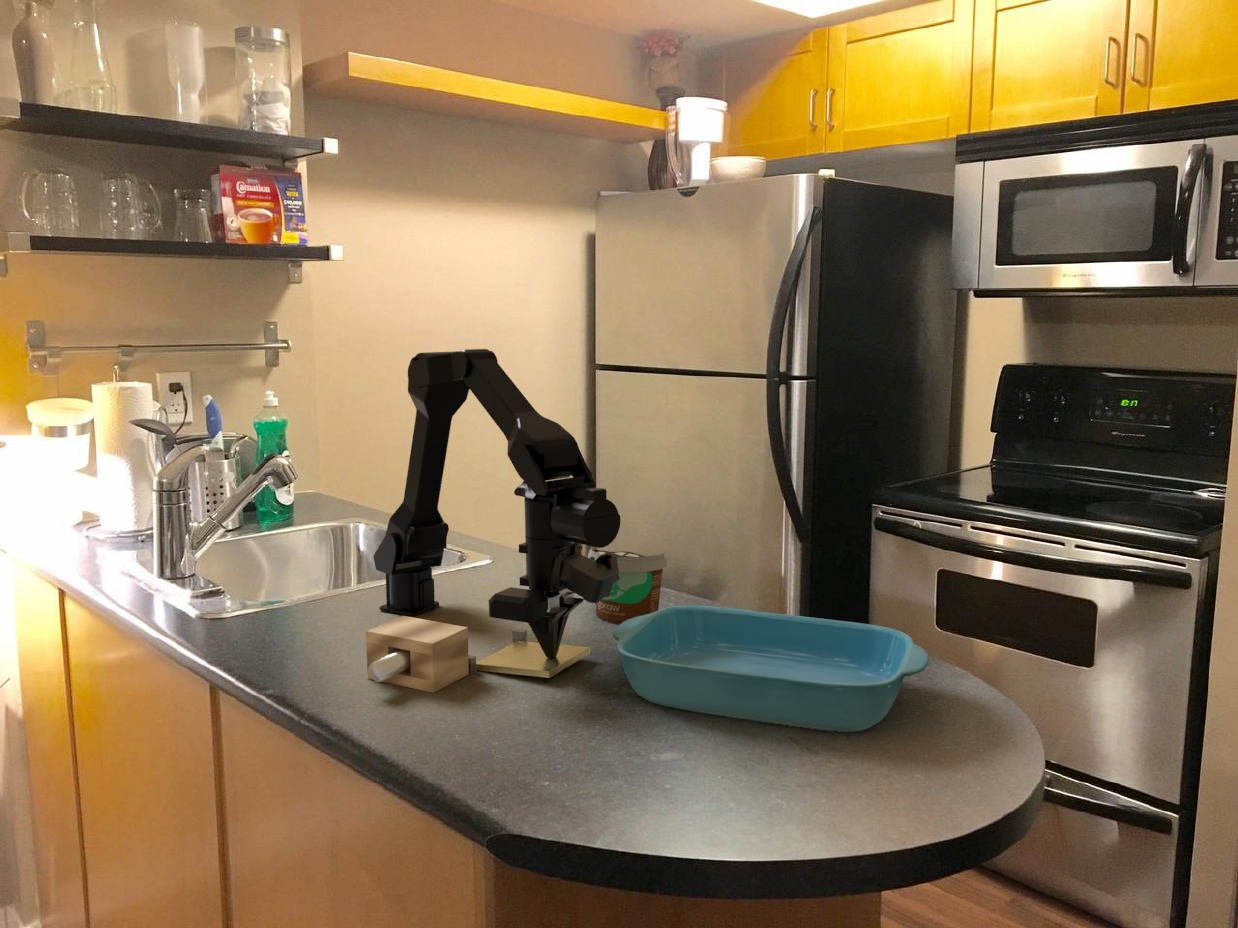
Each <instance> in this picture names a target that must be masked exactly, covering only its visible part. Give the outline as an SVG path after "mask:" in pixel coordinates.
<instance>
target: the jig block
mask: <svg viewBox="0 0 1238 928" xmlns="http://www.w3.org/2000/svg"><path fill="white" fill-rule="evenodd" d="M468 629H469V628H468V626H463V625H462V626H461V625H456V624H450V623H446V622H441V621H440V622H439V621H433V620H429V619H423V618H419V617H418V618H417V617H413V616H408V615H402V616H398V617H397V618H394V619H392V620H389V621H386V622H385V623H382V624H380V625H377V626H375V627H372V628H370V629H368V630H366V631H365V641H366V642H365V643H366V644H365V645H366V666H367V667H366V670H367V672H366V673H367V674H366V675H367V679H369V680H373V679H372V678H371V676H370V673H369V666H370V664H371V663H372V662H375V661H377V660H379V659H381V658H383V657H386V656H388V655H390V654H392V653H395V652H397V651H399V650H401V649H404V650H409V651H410V660H411V667H410V668H408V669H406V670H404V671H402V672H400V673H397V674H395V675H393V676H391V677H389V678H387V679H385V680H383V681H381V682H384V683H388V684H392V685H396V686H397V685H398V686H401V687H405V688H411V689H415V690H419V691H423V692H429V693H432V694H433V693H436V692H437V691H438V692H439V690H441V689H443V688H445V687H447V686H449V685H451V684H453V683H454V682H456V681H458V680H461V679H462V678H464V677H466V676H468V675H470V674H469V665H468V655H469V630H468Z"/></svg>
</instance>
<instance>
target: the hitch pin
mask: <svg viewBox="0 0 1238 928" xmlns="http://www.w3.org/2000/svg"><path fill="white" fill-rule="evenodd" d="M410 667H411V660H410V651H409V650H404V649H401V650H399V651H397V652H395V653H392V654H390V655H388V656H386V657H383V658H381V659H379V660H377V661H375V662H372V663H371V664H370V666H369V673H370V676H371V678H372V679H371V680H373V681H374V682H378V683H379V682H382V681H383V680H385V679H387V678H389V677H391V676H393V675H395V674H397V673H400V672H402V671H404V670H406V669H408V668H410Z"/></svg>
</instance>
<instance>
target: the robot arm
mask: <svg viewBox="0 0 1238 928" xmlns="http://www.w3.org/2000/svg"><path fill="white" fill-rule="evenodd" d="M498 362H499V361H498V358H497V356H496V354H495V352H493V351H492V350H489V349H487V348H472V349H467V348H466V349H461V350H459V351H456V350H455V351H431V352H429V351H427V352H418V353H417V354H416V355H415V356H412V357H411V359H410V362H409V365H408V366H407V378H408V379H407V392H408V395H409V397H410V398H411V400H412V401H411V402H413V404H414V407H415V410H416V411H415V412H416V413H415V420H414V427H413V432H412V433H413V434H412V441H411V447H410V454H409V460H408V465H407V466H408V468H407V474H406V475H407V476H406V481H405V488H404V496H403V499H402V503H401V504H400V505H399V507H398V508H397V509H396V510H395V511H394V513H393V514H392V515H391V516H390V518H389V520H388V523H387V527H386V532H385V534H384V537H383V539H382V541H381V542H380V544H379V545H378V547H377V548H376V551H375V552H374V554H373V556H372V557H373V562H374V567H375V569H376V571H379V572H381V573H384V574H385V597H386V599H385V600H386V603H385V604H383V605H381V606H379V611H383V612H390V613H395V614H401V615H404V616H409V617H413V616H416V615H419V614H421V613H423V612H427V611H429V610H431V609H433V608H434V609H435V608H436V607H438V606H440V601H436V599H435V579H434V578H433V568H435V567H437V568H439V567H441V566H442V563H443V562H442V561H443V556H444V552H445V549H446V548H447V544H448V543H447V537H448V535H449V534H448V533H449V530H450V528H449V524H448V523H447V522H446V521H444V519H443V516H442V515H441V513H440V511H439V502H440V495H441V489H442V483H443V478H444V477H443V476H444V471H445V464H446V463H445V462H446V459H447V452H448V445H449V438H450V434H451V433H450V432H451V427H452V421H453V417H454V415H455V414H456V413H457V412H458V411H459V410H460V408H461V407H462V406H463V404H464V403H465V402H466V401H467V400H468V397H469V392H470V391H471V393H472V394H473V396H474V397H475V398H476V399H477V401H478V402H479V404H481V406H482V407H483V409H484V410H485V412H486V413H487V414H488V415H489V416H490V418H491V419H492V420H493V422H494V423H495V424H496V426H497V427H498V428H499V430H500V432H501V433H503V435H504V437H505V438H506V439H505V440H507V450H506V451H507V453H506V455H507V457H508V459H509V460H510V462H511V464H512V466H513V467H514V469H515V472H516V473H517V475H518V476H519V478H520V479H521V480H523V482H522V483H521V484H520V485H519V484H518V486H517V487H516V488H515V489H514V491H513V493H514V495H515V496H518V497H523V499H524V500H523V502H524V504H523V505H524V538H525V542H523V543H520V544H518V553H519V554H525V573H526V574H524V575H522V576H520V577H519V586H520V587H521V586H523V587H528V589H526V588H520V587H508V588H505V589H503V590H501V591H497V592H496V593H494V594H493V595H492V596H491V597H490V598H489V600H488V615H489V618H494V619H500V620H507V621H513V622H518V623H519V622H520V623H526V624H527V625H528V626H529V627H530V629H531V631H532V633H533V635H534V636H535V639H536V640H537V643H539V644H540V646H541V648H542V650H543V652H544V654H545V656H546V657H547V658H554V657H556V656H557V653H558V650H559V646H560V645H561V643H562V640H563V639H562V638H563V635H564V632H565V629H566V625H567V622H568V619H569V616H570V613H572V612H573V611H574V610H575V609H576V608H577V607H578V606H580V605H581V604H583V602H584V601H586V602H588V603H591V604H595V603H597V602H599V601H600V600H601V599H603V598H605V597H606V598H607V597H609V596H610V593H611V590H612V587H613V583H615V582H617V581H619V579H620V576H619V575H618V573H619V570H618V562H617V557H616V556H615V555H613V554H611V553H608V552H607V553H605V554H602V555H601V556H599V557H598V558H597V559H596V560H594V559H595V558H594V557H590V558H588V556H584V554H583V555H581V546H580V544H583V546H588V547H591V546H592V547H596V549H597V548H598V549H602V548H605V547H607V546H609V545H610V544H612V543H613V542H614V540H615V539H616V538H617V535H618V533H619V530H620V529H621V528H620V527H621V515H620V514H619V510H618V509H617V508H618V507H616V505H615V503H614V502H612V501H611V500H609V499H608V498H607V490H606V488H604V487H603V488H602V487H597V488H596V482H595V480H594V478H593V473H592V471H591V470H590V469H589V466H588V465H587V462H586V461H585V459H584V456H583V454H582V452H581V450H580V447H579V445H578V442H577V440H576V439H575V437H574V436H573V435H572V434H571V433H570V432H569V431H568V430H566V429H565V428H564V427H563V426H562V425H561V424H560V423H558V422H556V421H554V420H552V419H550V418H548V417H544V416H543V415H541V414H540V413H539V412H538V411H537V410H536V409H535V407H534V406H532V404H531V403H530V402H529V400H528V399H527V398H526V397H525V395H524V394H523V393H522V391H521V390H520V389H519V388H518V387H517V385H516V384H515V383H514V381H513V380H512V379H511V378H510V377H509V375H508V374H507V373H506V372H505V370H504V369H503V368H502V367H501V365H500V364H499V363H498ZM579 543H580V544H579ZM575 595H578V596H579V597H575ZM580 597H581V598H580Z"/></svg>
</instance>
